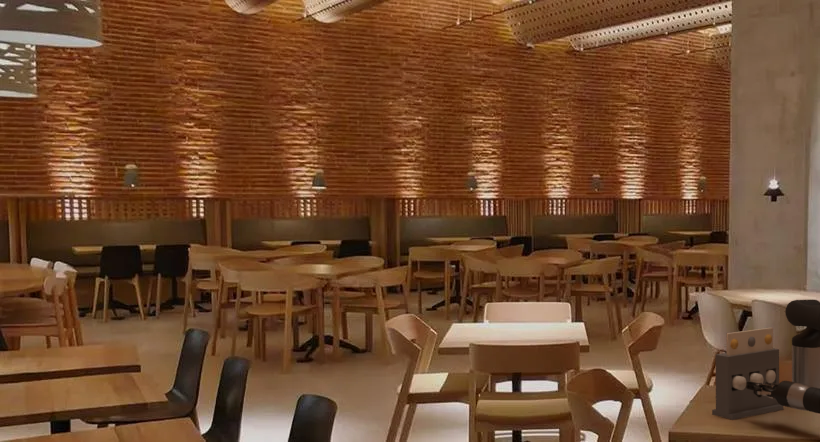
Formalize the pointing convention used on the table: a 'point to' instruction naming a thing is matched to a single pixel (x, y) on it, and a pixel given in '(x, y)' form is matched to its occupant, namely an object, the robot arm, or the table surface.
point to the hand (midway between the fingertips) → (747, 384)
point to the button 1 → (738, 382)
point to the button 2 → (770, 376)
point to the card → (749, 341)
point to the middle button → (755, 377)
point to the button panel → (745, 401)
